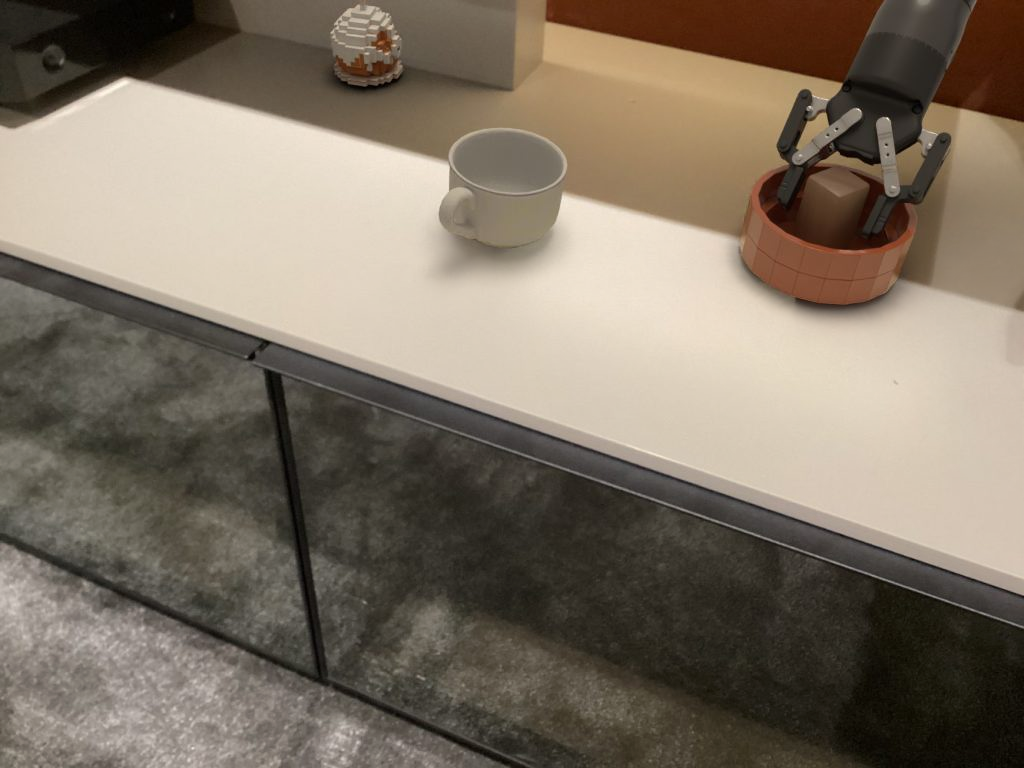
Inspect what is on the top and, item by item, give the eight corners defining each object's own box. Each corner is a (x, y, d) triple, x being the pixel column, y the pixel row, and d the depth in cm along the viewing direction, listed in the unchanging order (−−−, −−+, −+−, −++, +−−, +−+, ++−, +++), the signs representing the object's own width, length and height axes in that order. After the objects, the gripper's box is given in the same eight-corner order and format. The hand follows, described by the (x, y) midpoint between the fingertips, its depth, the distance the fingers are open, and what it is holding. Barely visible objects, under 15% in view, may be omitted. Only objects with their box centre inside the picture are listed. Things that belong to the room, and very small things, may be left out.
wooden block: (817, 236, 92) (839, 162, 86) (848, 258, 89) (873, 184, 84) (786, 248, 90) (806, 174, 84) (816, 271, 88) (840, 197, 82)
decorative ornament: (389, 94, 110) (380, -40, 100) (325, 85, 112) (310, -48, 101) (410, 64, 116) (403, -66, 105) (349, 55, 117) (336, -74, 107)
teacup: (513, 185, 98) (515, 114, 92) (585, 236, 92) (592, 162, 86) (400, 235, 91) (394, 161, 85) (470, 292, 85) (469, 217, 80)
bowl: (904, 237, 93) (924, 183, 89) (885, 326, 83) (907, 271, 79) (756, 201, 97) (769, 149, 92) (722, 284, 87) (735, 229, 83)
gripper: (825, 9, 84) (742, 184, 85) (993, 55, 78) (902, 242, 79) (832, 46, 91) (755, 207, 92) (987, 90, 85) (903, 262, 86)
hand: (823, 223), depth 86 cm, fingers open, 7 cm apart
